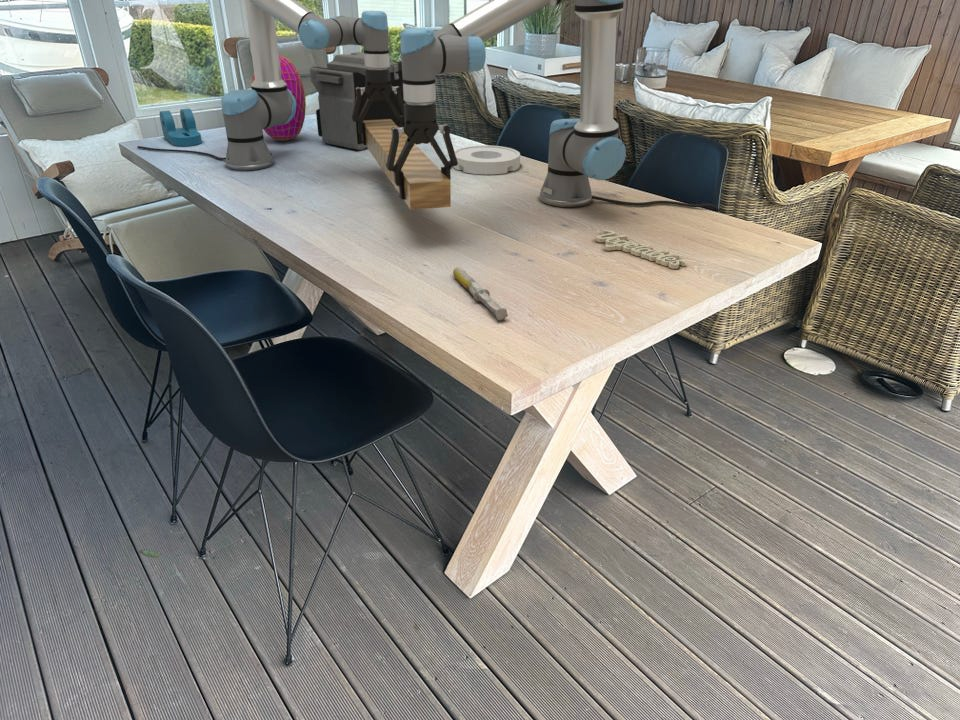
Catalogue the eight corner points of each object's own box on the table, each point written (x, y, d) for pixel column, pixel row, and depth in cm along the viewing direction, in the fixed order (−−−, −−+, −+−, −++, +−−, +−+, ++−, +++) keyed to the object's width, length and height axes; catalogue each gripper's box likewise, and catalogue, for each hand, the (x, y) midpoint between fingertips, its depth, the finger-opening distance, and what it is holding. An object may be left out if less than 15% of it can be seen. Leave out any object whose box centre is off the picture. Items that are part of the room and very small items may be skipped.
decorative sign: (581, 237, 173) (606, 228, 179) (581, 241, 174) (606, 232, 179) (668, 269, 156) (693, 258, 162) (668, 273, 157) (693, 262, 162)
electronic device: (379, 127, 286) (374, 48, 270) (420, 134, 275) (417, 53, 259) (313, 143, 260) (303, 57, 245) (355, 152, 249) (347, 63, 234)
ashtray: (454, 156, 246) (454, 144, 244) (519, 157, 245) (519, 146, 243) (450, 173, 226) (450, 161, 224) (520, 175, 225) (521, 162, 223)
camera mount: (164, 137, 265) (157, 109, 260) (192, 134, 270) (186, 106, 265) (176, 147, 253) (170, 117, 247) (205, 143, 258) (200, 114, 252)
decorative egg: (293, 132, 276) (283, 50, 261) (319, 140, 264) (310, 56, 249) (249, 139, 265) (236, 54, 250) (273, 148, 253) (261, 60, 238)
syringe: (449, 274, 155) (449, 263, 153) (465, 272, 156) (464, 260, 154) (490, 323, 135) (491, 310, 133) (508, 319, 136) (508, 307, 134)
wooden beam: (450, 206, 166) (450, 180, 163) (410, 210, 163) (409, 183, 160) (392, 139, 227) (391, 119, 224) (362, 140, 225) (360, 120, 221)
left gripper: (411, 65, 214) (413, 138, 225) (338, 67, 208) (344, 142, 219) (416, 69, 208) (418, 144, 219) (341, 70, 202) (347, 147, 213)
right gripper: (462, 97, 165) (462, 188, 177) (368, 101, 160) (375, 195, 171) (470, 102, 159) (471, 196, 171) (374, 108, 153) (381, 204, 165)
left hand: (381, 143), depth 219 cm, fingers closed on wooden beam, 10 cm apart
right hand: (423, 196), depth 171 cm, fingers closed on wooden beam, 10 cm apart
